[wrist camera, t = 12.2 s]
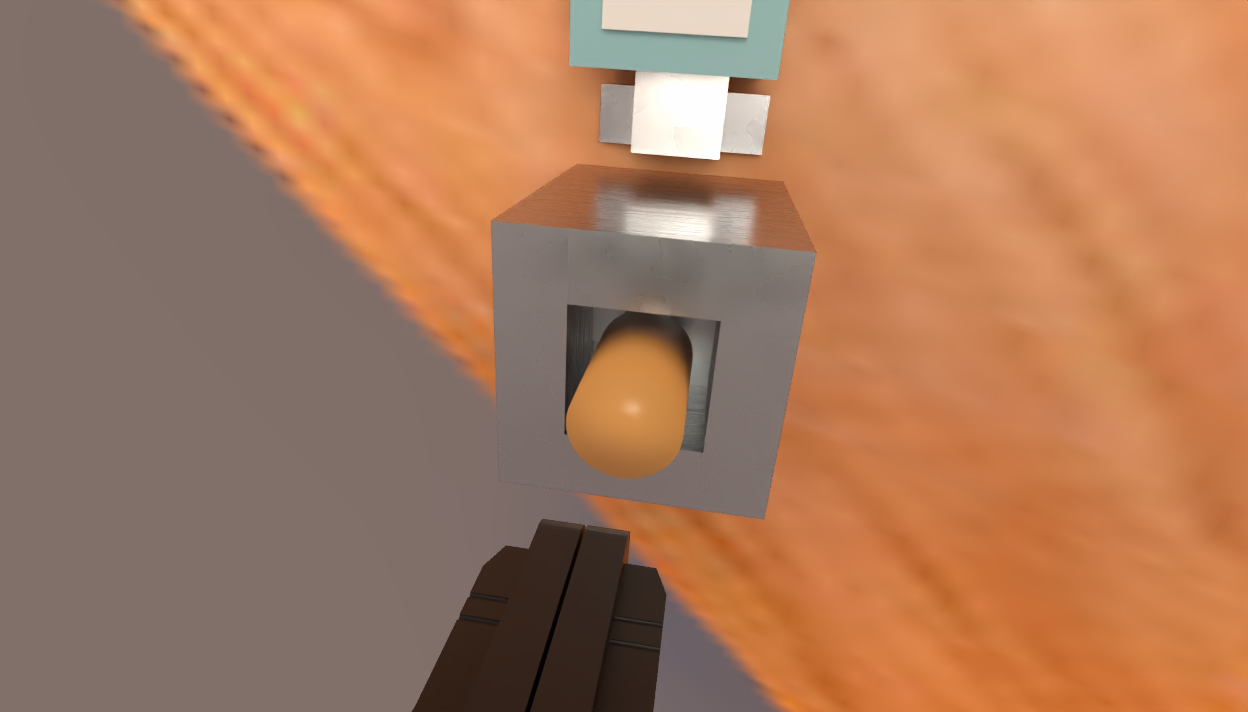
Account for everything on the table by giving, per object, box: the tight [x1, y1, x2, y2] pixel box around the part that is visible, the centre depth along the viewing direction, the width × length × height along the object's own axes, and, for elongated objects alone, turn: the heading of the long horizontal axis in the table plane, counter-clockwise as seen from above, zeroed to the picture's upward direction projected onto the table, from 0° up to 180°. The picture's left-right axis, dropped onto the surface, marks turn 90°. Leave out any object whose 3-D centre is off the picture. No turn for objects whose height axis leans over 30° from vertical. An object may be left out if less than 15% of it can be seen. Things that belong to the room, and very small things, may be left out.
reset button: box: [566, 311, 693, 479], centre depth 17 cm, size 3×3×4 cm
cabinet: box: [491, 164, 816, 519], centre depth 22 cm, size 9×8×10 cm
